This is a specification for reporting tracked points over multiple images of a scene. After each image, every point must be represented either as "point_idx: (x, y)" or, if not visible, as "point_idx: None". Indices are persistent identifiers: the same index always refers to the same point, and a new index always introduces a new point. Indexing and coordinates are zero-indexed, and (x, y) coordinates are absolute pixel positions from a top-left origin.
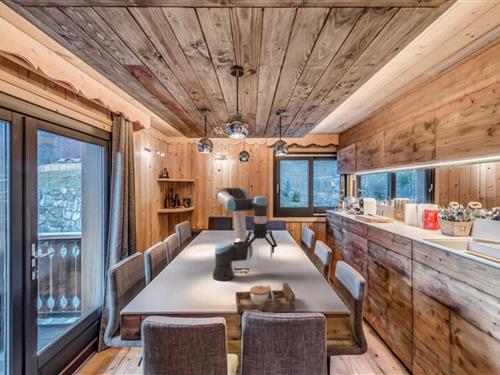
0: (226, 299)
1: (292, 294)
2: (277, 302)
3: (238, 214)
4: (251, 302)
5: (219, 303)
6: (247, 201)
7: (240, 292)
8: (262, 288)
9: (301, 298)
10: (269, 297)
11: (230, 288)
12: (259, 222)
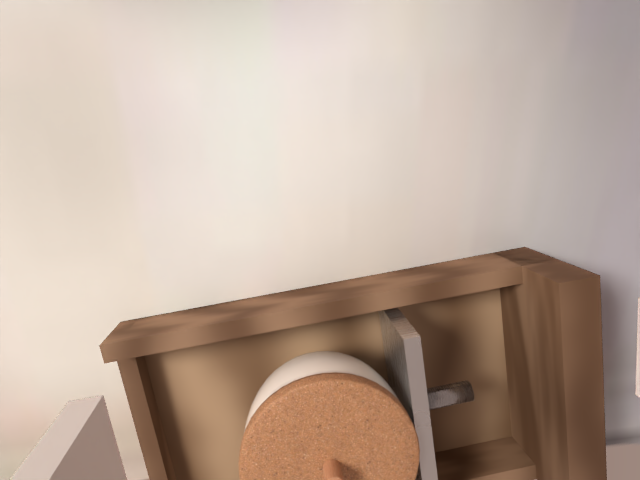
0: (45, 335)
1: None
2: None
3: None
4: (255, 387)
5: (7, 405)
6: None
7: (146, 351)
8: (354, 455)
9: (621, 268)
10: (396, 394)
11: (20, 100)
12: None
